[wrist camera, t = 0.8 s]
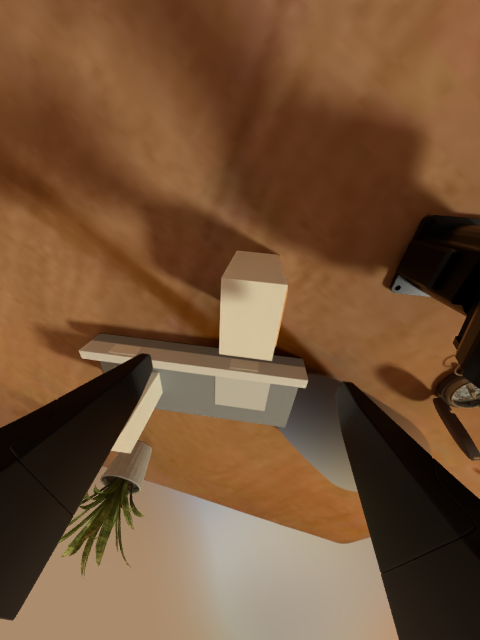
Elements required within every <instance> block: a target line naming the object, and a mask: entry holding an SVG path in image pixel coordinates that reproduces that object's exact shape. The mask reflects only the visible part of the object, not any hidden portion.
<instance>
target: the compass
mask: <svg viewBox="0 0 480 640" xmlns="http://www.w3.org/2000/svg"><path fill="white" fill-rule="evenodd" d="M458 367H460V365H458V366H457V367H456V368H455V369H454V373H455V374H453V375H451V376H449V377H448V378H446V379H445V380H444V381H443V382H442V383H441V384H440V386H439V388H438V391H437V392H438V398H434V399H433V403H434V405H435V408H436V410H437V412H438V414H439V416H440V418H441V419H442V421H443V423H444V424H445V426H446V428H447V429H448V431H449V432H450V434H451V435H452V437H453V439H454V440H455V442H456V443H457V444H458V446H459V447H460V448H461V450H462V451H463V452H464V453H465V454H466V456H467V457H468V458H469V459H471V460H480V453H479V451H478V449H477V448H476V446H475V444H474V442H473V441H472V439H471V437H470V436H469V434H468V433H467V431H466V430H465V428H464V427H463V425H462V423H461V422H460V421H459V419H458V418H457V416H456V415H455V414H454V413H451V412H450V411H451V410H452V409H451V408H450V407H449V406H452V407H460V408H476V407H480V389H479V388H477V387H475V386H474V385H473V384H472V383H471V382H470V381H468V380H467V379H466V378H465V377H464V376H463V375H462V374H461V371H460V372H457V373H456V370H457V368H458Z"/></svg>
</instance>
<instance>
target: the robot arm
mask: <svg viewBox="0 0 480 640" xmlns="http://www.w3.org/2000/svg"><path fill="white" fill-rule="evenodd" d="M429 220H432V222H431V223H430V224H429V225H428V222H429ZM398 285H399V286H398ZM396 286H398V288H396V289H395V287H396ZM390 290H391V291H392V292H394V293H400V294H409V295H419V296H428V297H433V298H434V299H436V300H438V301H440V302H441V303H443V304H445V305H447V306H449V307H450V308H452V309H454V310H456V311H457V312H459V313H461V314H463V315H464V316H466V319H465V321H464V324H463V326H462V328H461V330H460V333H459V335H458V336H456V337H455V339H454V341H453V344H454V346H455V348H456V349H457V352H456V359H457V361H458V363H459V365H460V367H461V368H462V371H461V374H462V375H463V376H464V377H465V378H466V379H467V380H468V381H470V382H471V383H472V384H473V385H474V386H475V387H477V388H479V389H480V219H473V218H461V217H450V216H439V215H428V216H426V217H425V218H424V219H423V220H422V221H421V223H420V225H419V227H418V230H417V232H416V234H415V236H414V238H413V240H412V242H411V243H410V244H409V246H408V248H407V250H406V252H405V254H404V256H403V258H402V260H401V262H400V265H399V267H398V269H397V273H396V275H395V277H394V279H393V281H392V283H391V285H390ZM152 370H153V364H152V359H151V356H150V354H145V353H141V354H139V355H137V356H135V357H133V358H131V359H129V360H128V361H126V362H124V363H122V364H120V365H118V366H117V367H115V368H113V369H111V370H109V371H107V372H106V373H104V374H102V375H100V376H98V377H96V378H95V379H93V380H91V381H89V382H87V383H85V384H84V385H82V386H80V387H78V388H76V389H74V390H73V391H71V392H69V393H67V394H65V395H63V396H61V397H60V398H58V400H57V399H56V400H54V401H52V402H50V403H49V404H47V405H45V406H43V407H41V408H39V409H37V410H35V411H33V412H32V413H30V414H28V415H26V416H24V417H22V418H20V419H18V420H16V421H14V422H12V423H10V424H8V425H6V426H3V427H1V428H0V619H6V620H14V618H15V617H16V615H17V614H18V612H19V610H20V609H21V607H22V605H23V604H24V602H25V600H26V598H27V597H28V595H29V593H30V591H31V590H32V588H33V586H34V584H35V583H36V581H37V579H38V577H39V576H40V574H41V572H42V570H43V568H44V567H45V565H46V563H47V562H48V560H49V558H50V556H51V555H52V553H53V551H54V549H55V548H56V546H57V544H58V542H59V541H60V539H61V537H62V535H63V534H64V532H65V530H66V528H67V527H68V525H69V523H70V521H71V520H72V518H73V515H74V514H75V512H76V511H77V509H78V507H79V505H80V504H81V502H82V500H83V498H84V497H85V495H86V493H87V491H88V490H89V488H90V486H91V484H92V483H93V481H94V479H95V477H96V475H97V474H98V472H99V470H100V469H101V467H102V465H103V463H104V462H105V460H106V458H107V456H108V455H109V453H110V451H111V449H112V448H113V446H114V444H115V442H116V441H117V439H118V437H119V435H120V434H121V432H122V430H123V428H124V427H125V425H126V423H127V421H128V420H129V418H130V416H131V414H132V413H133V411H134V409H135V407H136V406H137V404H138V402H139V400H140V398H141V396H142V394H143V391H144V389H145V387H146V384H147V382H148V380H149V378H150V375H151V373H152ZM336 403H337V409H338V415H339V421H340V427H341V432H342V436H343V440H344V443H345V447H346V451H347V454H348V458H349V461H350V465H351V468H352V472H353V475H354V479H355V483H356V486H357V490H358V494H359V497H360V501H361V504H362V508H363V511H364V515H365V519H366V522H367V526H368V529H369V533H370V537H371V540H372V544H373V547H374V551H375V554H376V558H377V561H378V565H379V569H380V572H381V573H382V574H381V576H382V580H383V583H384V587H385V591H386V594H387V598H388V602H389V605H390V609H391V612H392V616H393V619H394V623H395V627H396V630H397V634H398V637H399V640H480V499H479V498H478V497H477V496H475V495H474V494H473V493H472V492H471V491H470V490H468V489H467V488H466V487H465V486H464V485H463V484H462V483H460V482H459V481H458V480H457V479H456V478H455V477H454V476H453V475H452V474H451V473H449V472H448V471H447V470H446V469H445V468H444V467H443V466H442V465H441V464H440V463H439V462H437V461H436V460H435V459H434V458H432V456H431V455H430V454H429V453H428V452H426V451H425V450H424V449H423V448H422V447H421V446H420V445H419V444H418V443H417V442H416V441H415V440H414V439H413V438H411V437H410V436H409V435H408V434H407V433H406V432H405V431H404V430H403V429H402V428H401V427H400V426H399V425H397V424H396V423H395V422H394V421H393V420H392V419H391V418H390V417H389V416H388V415H387V414H385V412H383V411H382V410H381V409H380V408H379V407H378V406H377V405H376V404H375V403H374V402H373V401H372V400H371V399H369V398H368V397H367V396H366V395H365V394H364V393H363V392H362V391H361V390H360V389H359V388H358V387H357V386H355V385H354V384H353V383H351V382H345V381H343V382H341V384H340V386H339V388H338V390H337V392H336Z"/></svg>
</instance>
